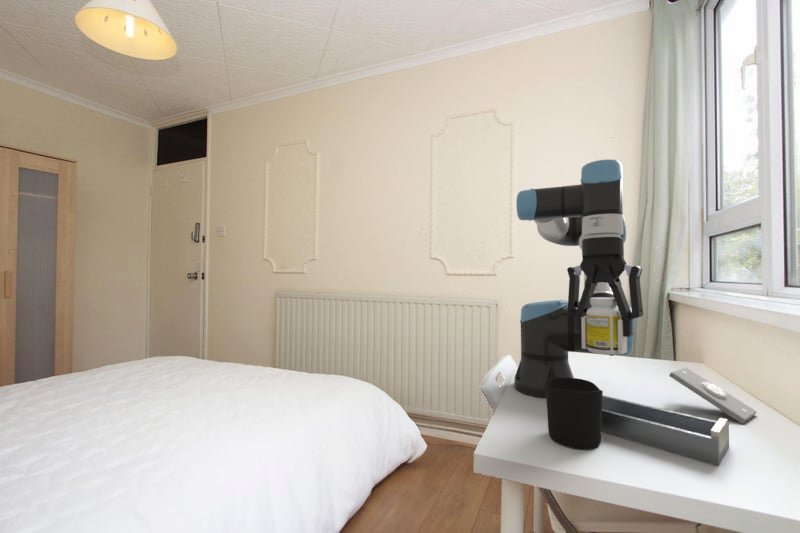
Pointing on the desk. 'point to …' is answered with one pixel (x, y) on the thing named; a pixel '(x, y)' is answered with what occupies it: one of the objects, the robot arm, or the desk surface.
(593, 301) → the pill bottle
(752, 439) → the desk surface
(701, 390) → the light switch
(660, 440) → the rail
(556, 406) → the pen holder
